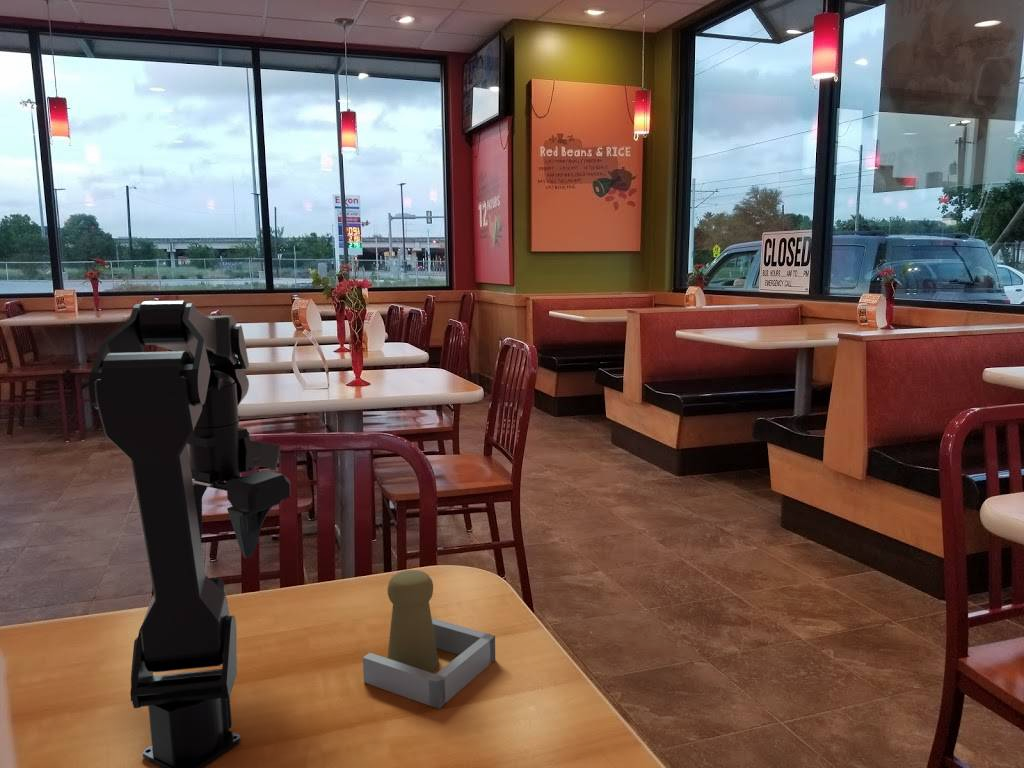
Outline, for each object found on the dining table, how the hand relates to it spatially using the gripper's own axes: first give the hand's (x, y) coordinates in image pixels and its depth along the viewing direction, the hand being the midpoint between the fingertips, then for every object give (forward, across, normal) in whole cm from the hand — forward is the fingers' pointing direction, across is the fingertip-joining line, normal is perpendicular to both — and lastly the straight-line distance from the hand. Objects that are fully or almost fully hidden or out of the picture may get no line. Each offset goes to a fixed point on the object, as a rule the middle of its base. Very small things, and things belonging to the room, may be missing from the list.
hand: (222, 549), depth 93 cm
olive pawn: (+12, -23, -7) cm, 27 cm away
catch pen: (+12, -25, -7) cm, 29 cm away
